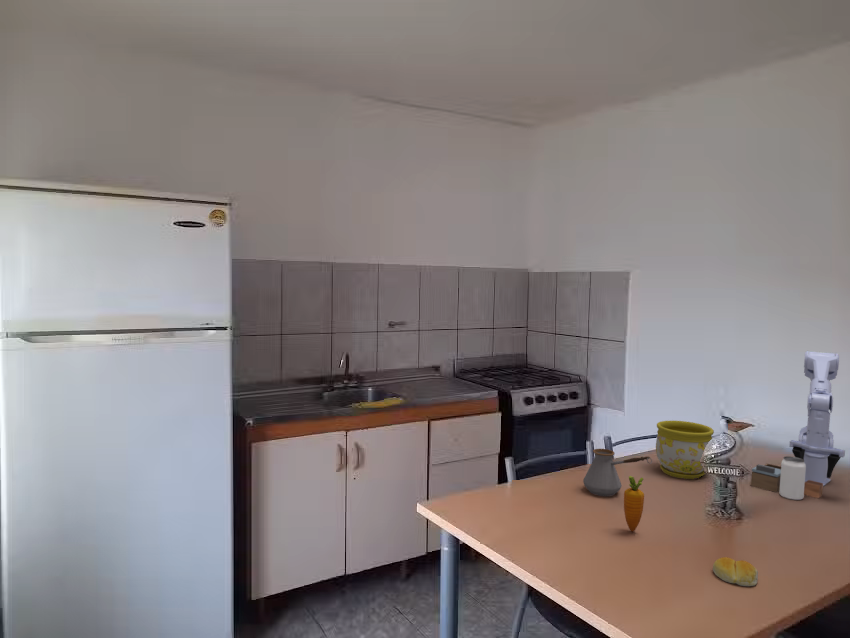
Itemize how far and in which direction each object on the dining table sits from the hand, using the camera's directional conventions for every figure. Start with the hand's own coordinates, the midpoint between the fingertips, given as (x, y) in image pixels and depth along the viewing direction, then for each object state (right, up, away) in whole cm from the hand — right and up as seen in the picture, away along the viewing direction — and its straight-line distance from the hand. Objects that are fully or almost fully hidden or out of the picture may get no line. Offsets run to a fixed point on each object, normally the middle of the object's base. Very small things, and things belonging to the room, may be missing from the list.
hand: (814, 474), depth 187 cm
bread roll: (-53, -9, -54) cm, 76 cm away
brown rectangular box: (-8, -6, +10) cm, 14 cm away
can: (-8, -7, -2) cm, 11 cm away
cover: (-11, -1, +7) cm, 13 cm away
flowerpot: (-34, -5, +18) cm, 39 cm away
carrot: (-68, -7, -31) cm, 75 cm away
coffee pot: (-64, -6, -6) cm, 65 cm away
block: (0, -7, 0) cm, 7 cm away
